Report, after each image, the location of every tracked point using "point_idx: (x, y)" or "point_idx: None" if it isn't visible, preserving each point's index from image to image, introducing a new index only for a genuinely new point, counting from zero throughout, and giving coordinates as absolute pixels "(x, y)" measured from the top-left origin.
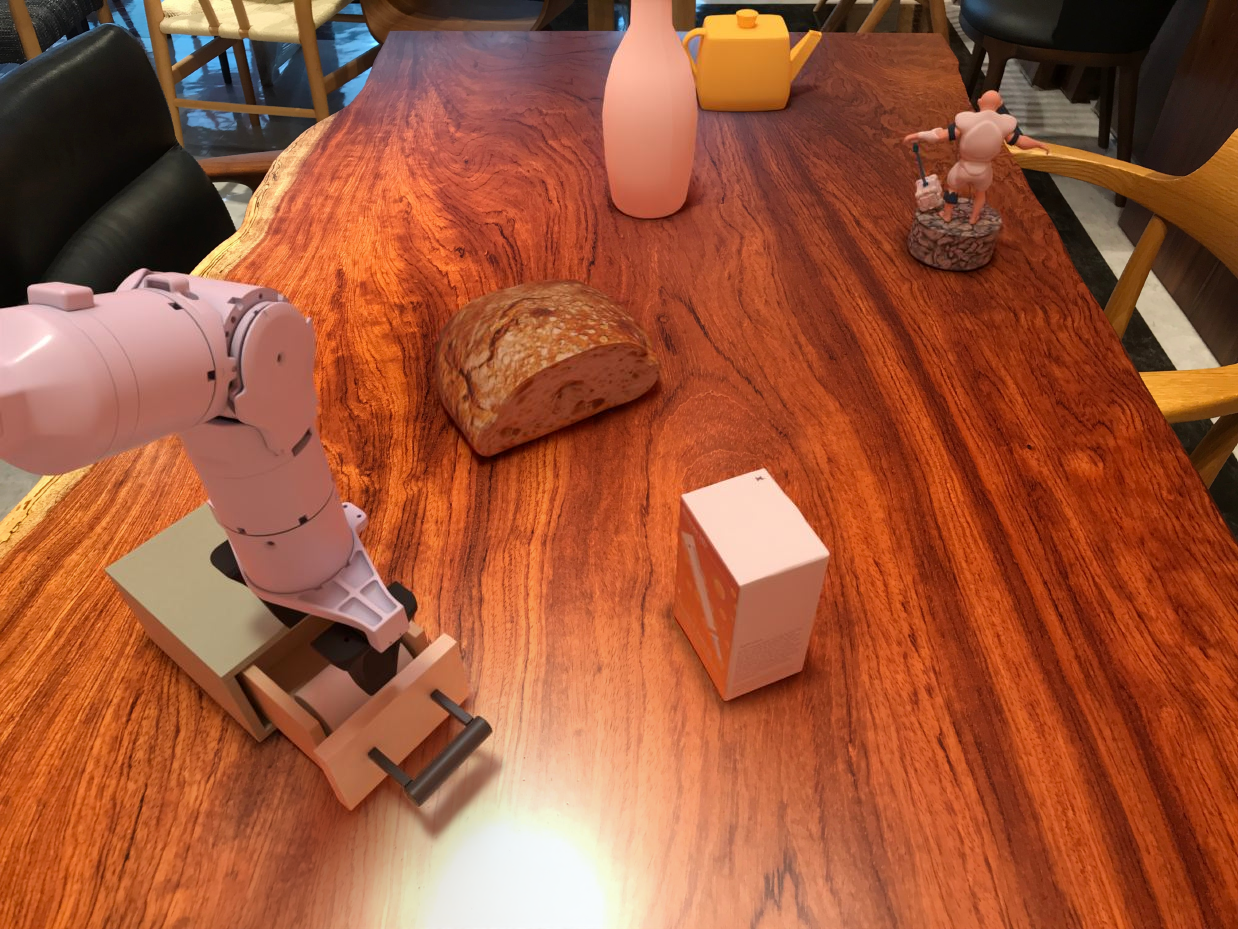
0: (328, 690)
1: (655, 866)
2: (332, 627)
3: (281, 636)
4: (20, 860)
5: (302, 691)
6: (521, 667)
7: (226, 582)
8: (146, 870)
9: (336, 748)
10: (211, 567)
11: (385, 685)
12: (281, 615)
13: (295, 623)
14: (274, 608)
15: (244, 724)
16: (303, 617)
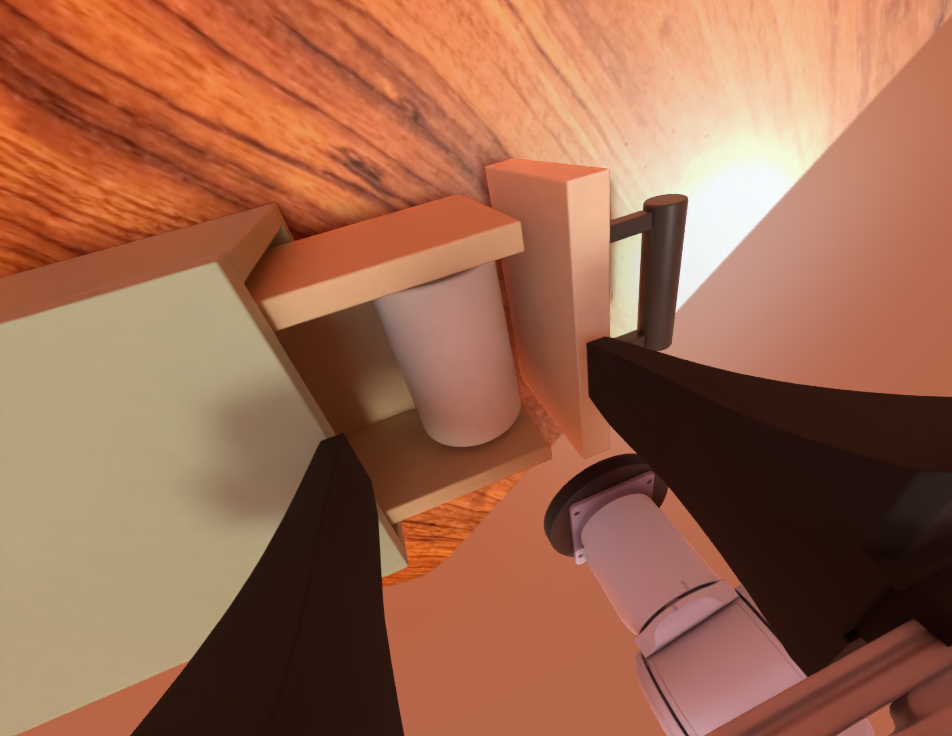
0: (488, 413)
1: (823, 93)
2: (843, 651)
3: None
4: (383, 582)
5: (457, 442)
6: (507, 17)
7: (147, 578)
8: (453, 512)
9: (605, 435)
10: (67, 606)
11: (576, 348)
12: (376, 529)
13: (365, 474)
14: (377, 563)
15: None
16: (358, 460)
